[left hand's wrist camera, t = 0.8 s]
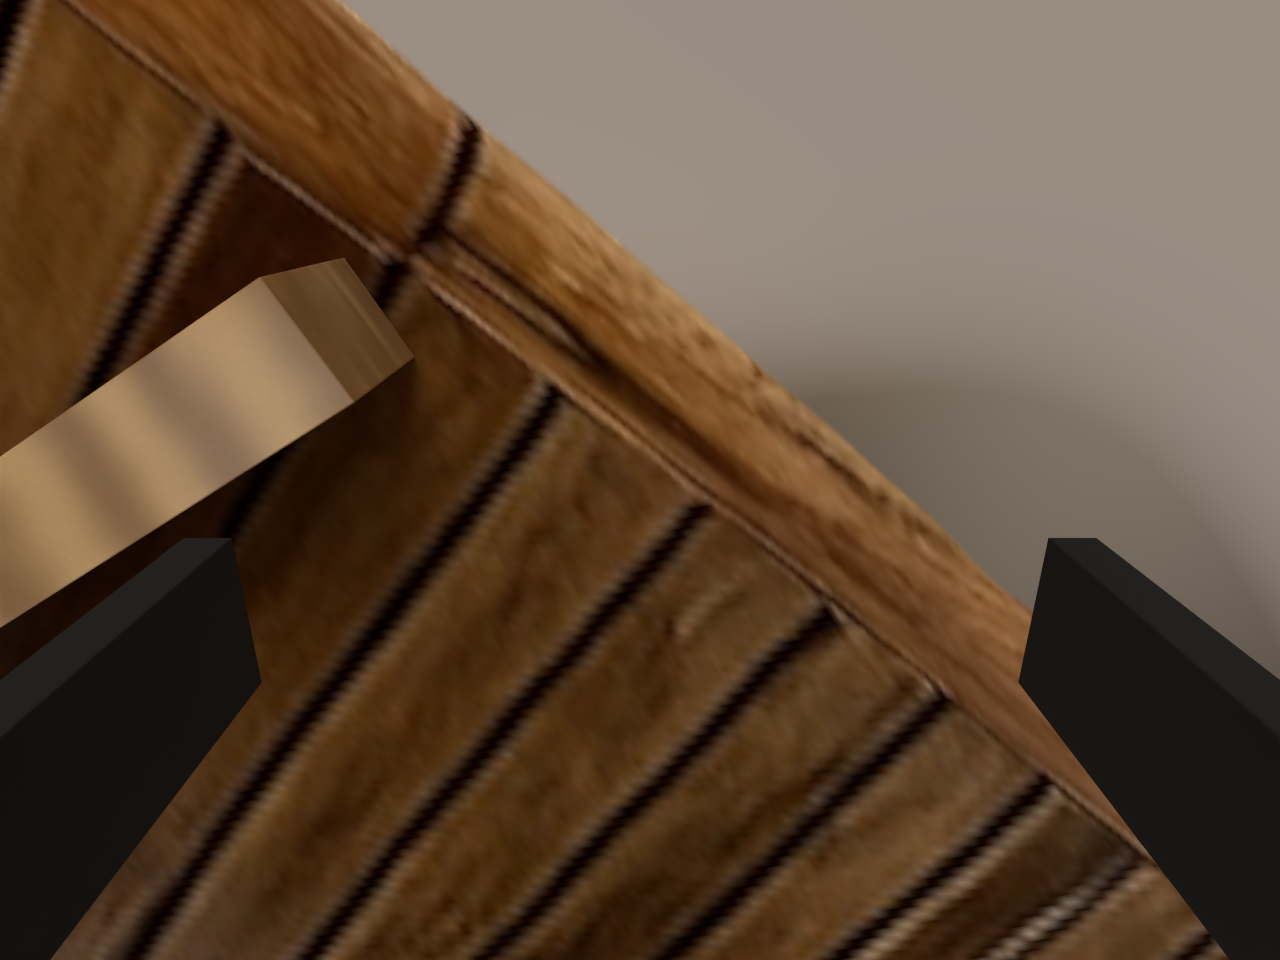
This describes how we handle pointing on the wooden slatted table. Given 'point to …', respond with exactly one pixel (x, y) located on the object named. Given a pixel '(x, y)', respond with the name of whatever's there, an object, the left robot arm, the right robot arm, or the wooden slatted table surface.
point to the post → (187, 423)
